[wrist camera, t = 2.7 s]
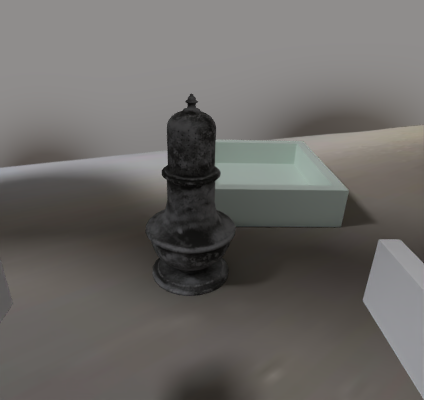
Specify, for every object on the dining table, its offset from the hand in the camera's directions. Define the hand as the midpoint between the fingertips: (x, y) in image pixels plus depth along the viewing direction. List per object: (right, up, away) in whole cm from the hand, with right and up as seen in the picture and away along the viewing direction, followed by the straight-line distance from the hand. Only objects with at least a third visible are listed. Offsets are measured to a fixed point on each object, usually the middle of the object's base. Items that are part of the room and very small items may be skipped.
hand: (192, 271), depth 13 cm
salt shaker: (-1, -3, +12) cm, 13 cm away
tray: (+5, +3, +24) cm, 25 cm away
